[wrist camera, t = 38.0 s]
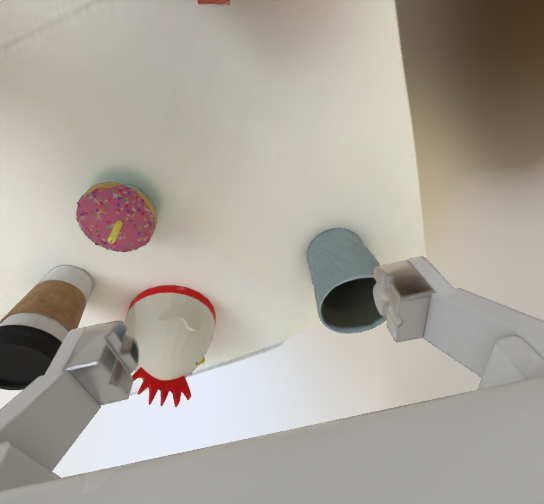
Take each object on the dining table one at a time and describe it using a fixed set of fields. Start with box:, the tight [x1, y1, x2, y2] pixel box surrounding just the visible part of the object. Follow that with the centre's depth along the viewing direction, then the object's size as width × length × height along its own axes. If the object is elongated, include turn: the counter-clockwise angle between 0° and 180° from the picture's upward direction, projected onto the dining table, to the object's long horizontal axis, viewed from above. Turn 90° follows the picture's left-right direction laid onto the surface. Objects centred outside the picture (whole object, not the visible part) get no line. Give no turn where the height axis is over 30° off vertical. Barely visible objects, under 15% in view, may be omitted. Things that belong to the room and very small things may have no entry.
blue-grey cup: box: [307, 228, 387, 334], centre depth 43 cm, size 10×10×12 cm
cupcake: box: [76, 182, 157, 252], centre depth 35 cm, size 9×8×12 cm
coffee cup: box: [0, 265, 93, 390], centre depth 39 cm, size 8×8×15 cm
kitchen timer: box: [125, 285, 215, 407], centre depth 46 cm, size 14×14×15 cm
